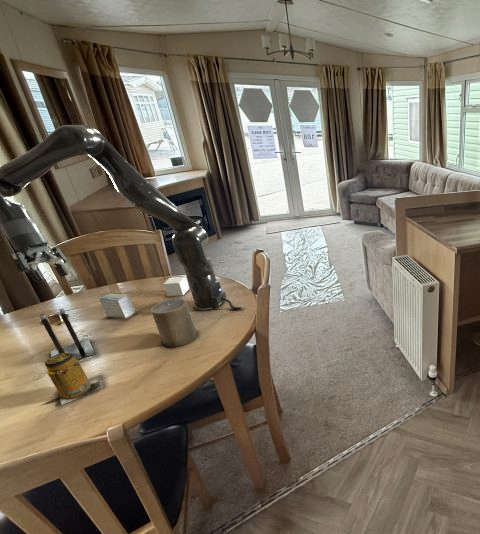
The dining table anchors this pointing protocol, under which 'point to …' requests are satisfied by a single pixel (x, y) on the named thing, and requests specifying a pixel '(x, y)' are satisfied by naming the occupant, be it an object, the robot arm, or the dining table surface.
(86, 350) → the bracket
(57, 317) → the lever
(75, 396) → the condiment
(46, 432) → the dining table surface
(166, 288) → the white cube
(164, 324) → the pillar candle
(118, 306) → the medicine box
